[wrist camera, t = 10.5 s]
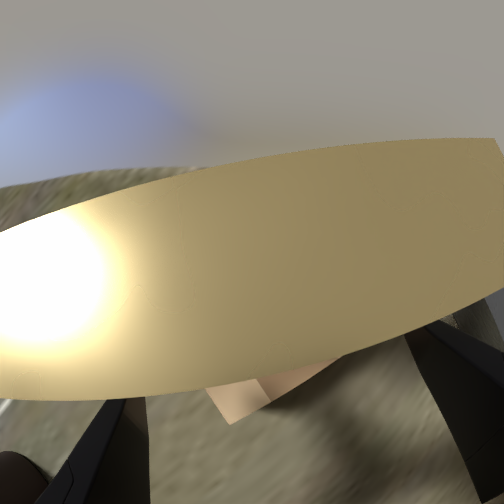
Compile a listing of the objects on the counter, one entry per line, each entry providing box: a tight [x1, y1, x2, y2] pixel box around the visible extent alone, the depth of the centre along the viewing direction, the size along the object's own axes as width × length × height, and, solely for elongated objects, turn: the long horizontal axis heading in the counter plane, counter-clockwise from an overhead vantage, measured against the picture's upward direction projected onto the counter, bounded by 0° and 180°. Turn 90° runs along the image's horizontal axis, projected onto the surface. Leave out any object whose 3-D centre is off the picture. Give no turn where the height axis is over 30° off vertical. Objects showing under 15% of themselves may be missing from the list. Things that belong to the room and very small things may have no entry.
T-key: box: [0, 138, 504, 401], centre depth 10 cm, size 8×2×15 cm, turn 103°
